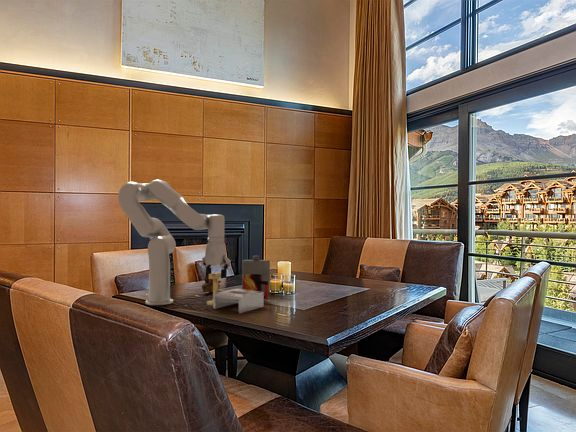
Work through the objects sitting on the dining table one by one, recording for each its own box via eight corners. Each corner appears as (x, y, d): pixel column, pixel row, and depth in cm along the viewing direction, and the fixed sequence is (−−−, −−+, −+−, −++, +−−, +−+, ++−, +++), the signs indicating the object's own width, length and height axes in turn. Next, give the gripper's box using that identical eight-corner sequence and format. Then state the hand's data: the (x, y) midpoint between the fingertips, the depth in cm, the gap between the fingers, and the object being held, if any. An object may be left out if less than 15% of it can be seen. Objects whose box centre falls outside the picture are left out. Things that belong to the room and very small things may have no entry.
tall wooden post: (206, 304, 194) (207, 273, 194) (218, 302, 201) (219, 272, 201) (212, 305, 192) (212, 274, 192) (224, 302, 199) (224, 272, 199)
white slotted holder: (213, 308, 186) (213, 293, 186) (236, 302, 200) (236, 288, 200) (240, 313, 177) (240, 297, 177) (263, 306, 191) (263, 291, 191)
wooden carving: (208, 295, 218) (208, 276, 218) (200, 294, 219) (200, 275, 219) (222, 290, 234) (222, 272, 234) (214, 289, 235) (214, 271, 235)
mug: (267, 302, 201) (267, 277, 201) (240, 301, 204) (240, 276, 204) (271, 298, 211) (272, 274, 211) (245, 297, 213) (245, 273, 213)
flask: (241, 293, 224) (241, 256, 224) (242, 291, 229) (243, 255, 230) (269, 293, 223) (269, 256, 223) (269, 291, 229) (270, 255, 229)
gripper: (197, 240, 198) (197, 276, 198) (224, 241, 189) (224, 279, 188) (208, 239, 204) (208, 274, 204) (235, 240, 195) (235, 277, 195)
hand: (216, 277), depth 196 cm, fingers open, 9 cm apart
